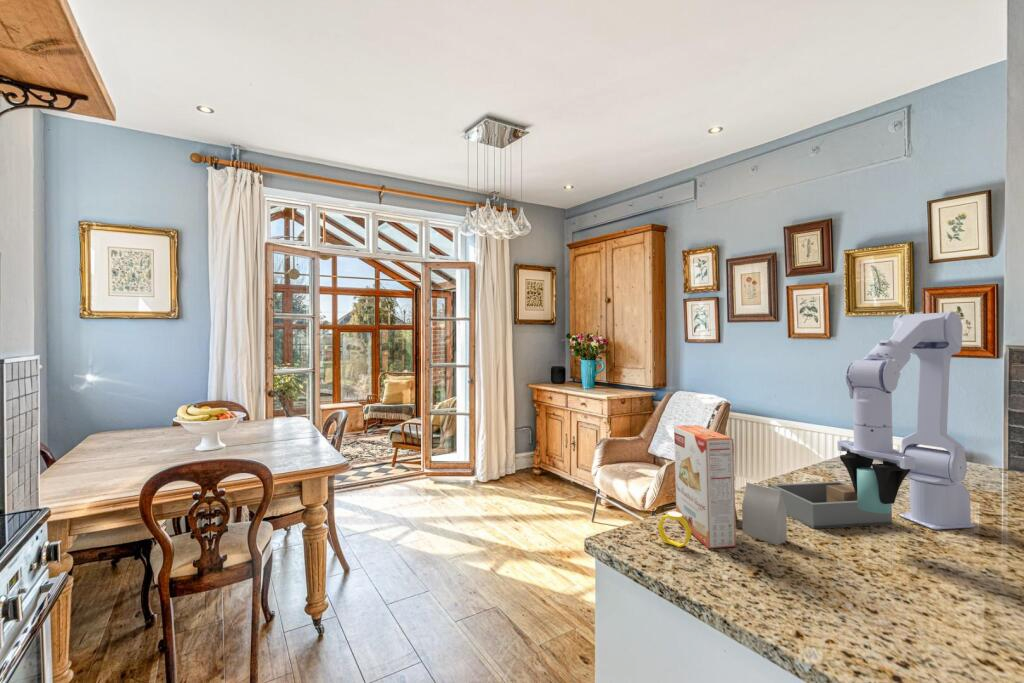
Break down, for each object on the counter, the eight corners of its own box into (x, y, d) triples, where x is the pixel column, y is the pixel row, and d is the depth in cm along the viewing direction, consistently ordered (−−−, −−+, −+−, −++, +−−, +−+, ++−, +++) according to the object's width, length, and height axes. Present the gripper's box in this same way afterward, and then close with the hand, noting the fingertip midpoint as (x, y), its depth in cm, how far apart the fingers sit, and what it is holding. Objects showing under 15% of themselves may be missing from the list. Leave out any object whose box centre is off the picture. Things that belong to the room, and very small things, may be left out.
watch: (656, 542, 91) (655, 511, 91) (662, 538, 93) (662, 508, 93) (686, 551, 87) (686, 519, 87) (692, 546, 89) (692, 515, 89)
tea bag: (776, 545, 89) (775, 492, 89) (742, 533, 95) (741, 484, 95) (786, 540, 91) (785, 489, 91) (752, 529, 97) (751, 480, 97)
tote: (840, 502, 111) (839, 481, 111) (891, 524, 98) (891, 500, 98) (770, 506, 110) (770, 484, 110) (813, 528, 96) (812, 504, 96)
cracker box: (674, 521, 101) (672, 425, 102) (701, 520, 102) (699, 424, 102) (706, 549, 88) (704, 438, 88) (737, 548, 88) (735, 436, 88)
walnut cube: (847, 506, 107) (846, 484, 107) (865, 514, 102) (865, 491, 102) (826, 507, 107) (826, 485, 107) (844, 515, 102) (843, 492, 102)
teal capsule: (875, 503, 89) (874, 466, 89) (899, 512, 84) (898, 473, 84) (850, 504, 89) (850, 467, 89) (873, 514, 84) (872, 475, 84)
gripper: (822, 419, 94) (824, 487, 93) (887, 432, 79) (889, 513, 79) (855, 418, 94) (856, 485, 94) (925, 431, 80) (927, 511, 80)
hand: (874, 498), depth 87 cm, fingers closed on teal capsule, 5 cm apart
